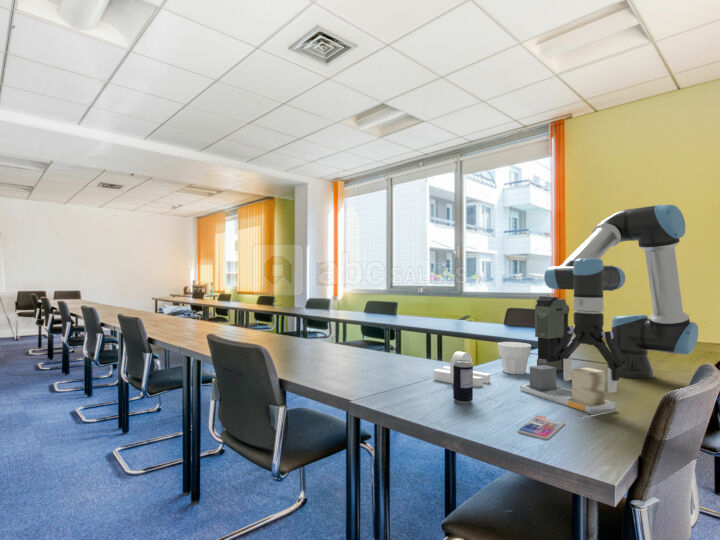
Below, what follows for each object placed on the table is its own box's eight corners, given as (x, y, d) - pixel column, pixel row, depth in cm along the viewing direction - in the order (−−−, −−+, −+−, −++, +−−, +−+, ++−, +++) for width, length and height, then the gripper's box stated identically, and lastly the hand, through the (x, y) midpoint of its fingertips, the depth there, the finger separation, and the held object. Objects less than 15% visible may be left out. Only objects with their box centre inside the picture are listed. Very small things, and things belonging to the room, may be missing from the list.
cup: (492, 368, 166) (492, 341, 166) (521, 368, 167) (521, 341, 168) (506, 376, 154) (506, 347, 154) (537, 375, 155) (537, 346, 155)
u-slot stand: (446, 375, 155) (446, 347, 155) (491, 384, 143) (491, 353, 143) (432, 380, 148) (432, 350, 148) (478, 389, 136) (478, 357, 136)
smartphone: (566, 421, 104) (547, 438, 93) (566, 425, 104) (547, 442, 93) (536, 414, 109) (515, 429, 98) (536, 418, 109) (515, 433, 98)
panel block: (588, 401, 120) (588, 367, 120) (604, 406, 116) (604, 371, 116) (572, 404, 117) (572, 369, 117) (588, 409, 113) (588, 373, 113)
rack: (543, 388, 137) (543, 382, 137) (614, 410, 115) (614, 402, 115) (519, 392, 132) (519, 385, 132) (589, 415, 110) (589, 407, 110)
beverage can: (473, 399, 124) (473, 360, 124) (472, 405, 118) (472, 364, 118) (454, 397, 125) (454, 359, 126) (452, 403, 120) (452, 362, 120)
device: (550, 375, 155) (550, 297, 156) (532, 371, 162) (532, 296, 162) (570, 370, 163) (570, 296, 164) (552, 367, 170) (552, 295, 170)
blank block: (544, 389, 134) (544, 364, 134) (556, 392, 130) (556, 367, 130) (529, 391, 131) (529, 366, 131) (541, 395, 127) (541, 369, 127)
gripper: (542, 309, 126) (543, 377, 126) (624, 316, 104) (624, 399, 104) (559, 308, 130) (559, 374, 129) (641, 315, 107) (642, 395, 107)
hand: (588, 385), depth 117 cm, fingers open, 13 cm apart
